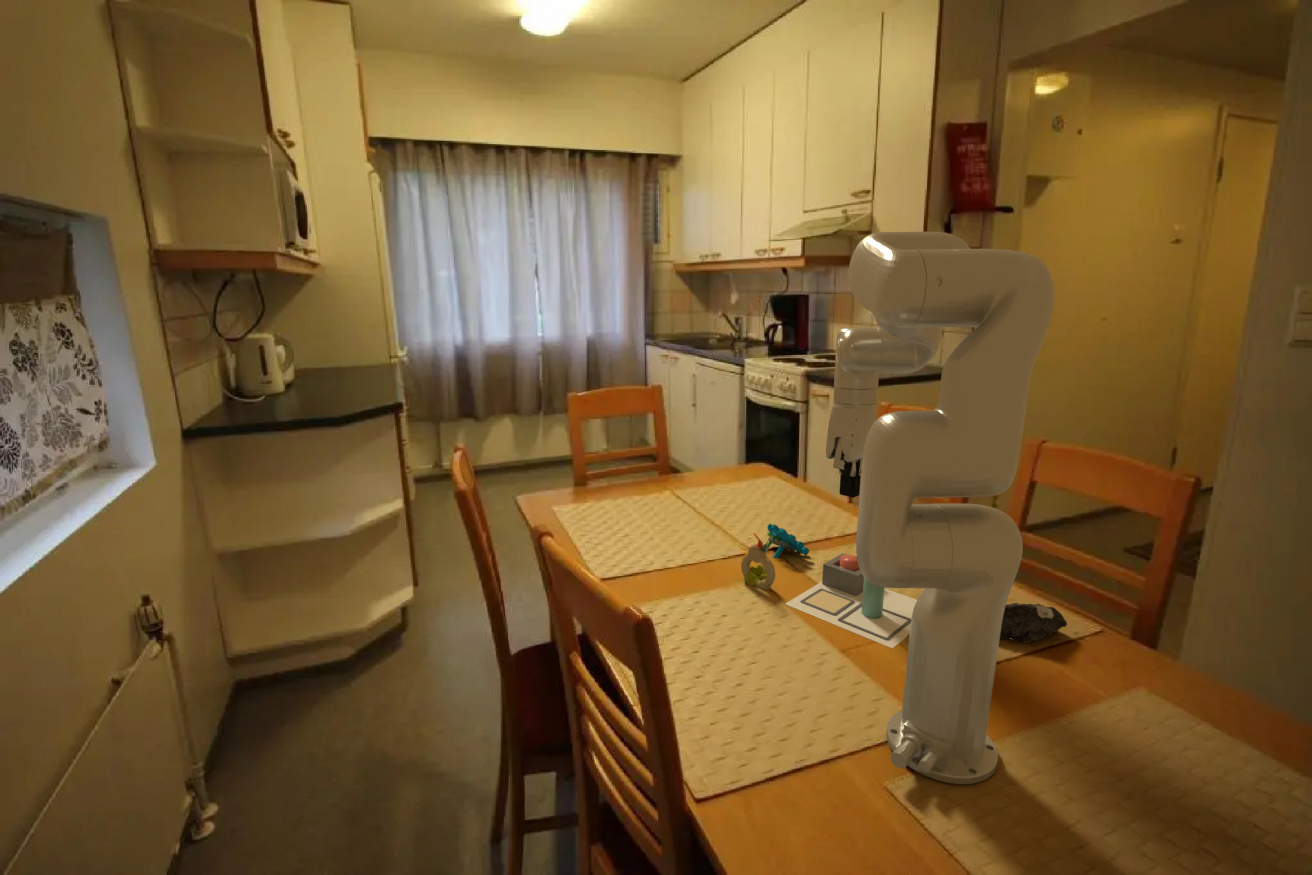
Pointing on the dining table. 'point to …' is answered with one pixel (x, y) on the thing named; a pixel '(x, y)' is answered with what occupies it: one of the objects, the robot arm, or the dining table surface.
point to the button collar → (842, 577)
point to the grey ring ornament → (760, 574)
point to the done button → (849, 562)
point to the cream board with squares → (859, 613)
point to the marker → (872, 600)
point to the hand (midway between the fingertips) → (849, 495)
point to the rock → (1030, 622)
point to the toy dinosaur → (784, 540)
